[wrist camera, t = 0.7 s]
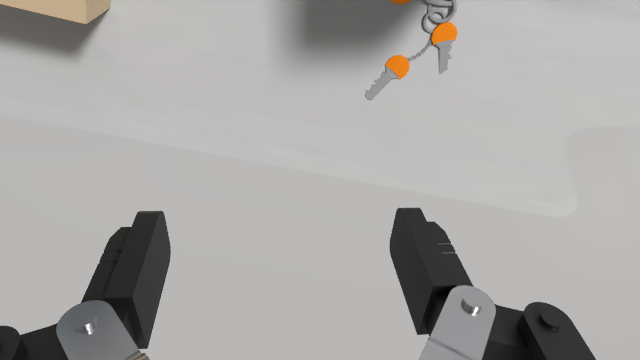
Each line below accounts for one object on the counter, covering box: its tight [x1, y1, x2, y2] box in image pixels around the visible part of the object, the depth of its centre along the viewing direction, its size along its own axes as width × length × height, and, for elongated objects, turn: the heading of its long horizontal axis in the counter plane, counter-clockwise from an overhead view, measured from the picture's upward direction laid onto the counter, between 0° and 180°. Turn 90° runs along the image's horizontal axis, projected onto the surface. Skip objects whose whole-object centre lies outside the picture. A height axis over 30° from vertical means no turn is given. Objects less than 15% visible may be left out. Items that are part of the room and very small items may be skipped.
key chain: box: [365, 0, 457, 100], centre depth 33 cm, size 13×7×1 cm, turn 172°
